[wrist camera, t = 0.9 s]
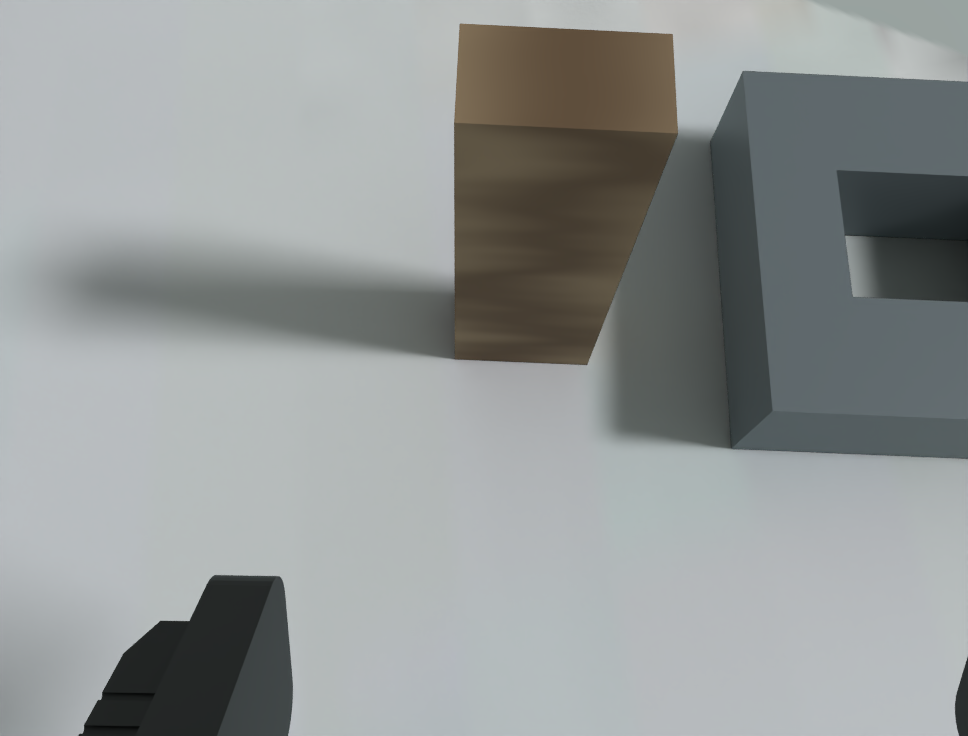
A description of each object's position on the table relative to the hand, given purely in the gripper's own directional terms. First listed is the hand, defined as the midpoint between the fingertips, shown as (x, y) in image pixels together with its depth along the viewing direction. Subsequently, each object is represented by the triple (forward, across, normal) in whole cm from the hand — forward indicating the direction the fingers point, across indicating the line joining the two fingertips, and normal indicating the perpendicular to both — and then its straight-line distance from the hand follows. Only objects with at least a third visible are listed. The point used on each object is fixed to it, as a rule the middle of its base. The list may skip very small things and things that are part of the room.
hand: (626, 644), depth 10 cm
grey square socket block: (+22, -13, +3) cm, 25 cm away
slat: (+20, 0, +4) cm, 21 cm away
